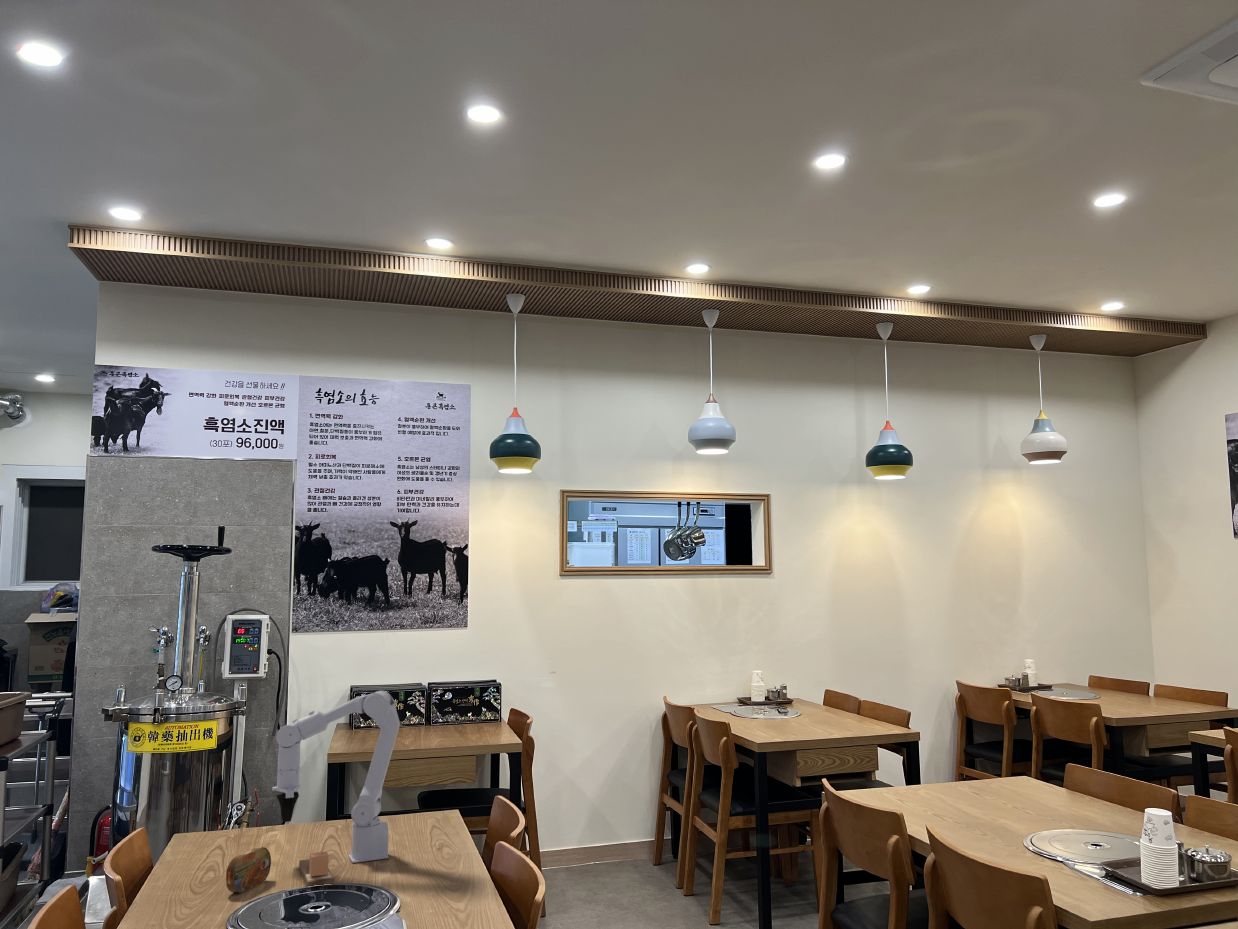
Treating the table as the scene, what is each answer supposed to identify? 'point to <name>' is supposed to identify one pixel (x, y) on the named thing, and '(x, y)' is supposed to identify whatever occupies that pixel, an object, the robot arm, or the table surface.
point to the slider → (318, 864)
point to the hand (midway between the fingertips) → (286, 821)
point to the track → (314, 879)
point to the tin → (248, 870)
